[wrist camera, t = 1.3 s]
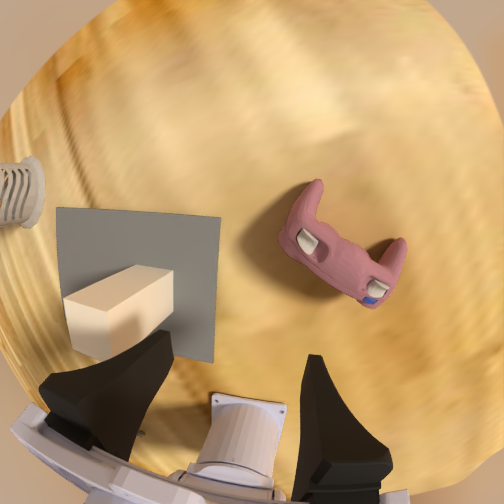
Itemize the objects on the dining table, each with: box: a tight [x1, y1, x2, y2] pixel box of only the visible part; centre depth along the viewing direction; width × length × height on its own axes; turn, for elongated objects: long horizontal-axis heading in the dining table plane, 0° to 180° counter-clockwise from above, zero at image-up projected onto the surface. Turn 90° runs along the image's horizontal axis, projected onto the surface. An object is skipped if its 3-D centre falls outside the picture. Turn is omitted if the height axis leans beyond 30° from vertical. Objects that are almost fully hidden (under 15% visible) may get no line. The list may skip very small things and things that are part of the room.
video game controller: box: [278, 179, 407, 309], centre depth 19 cm, size 10×5×7 cm, turn 59°
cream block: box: [63, 265, 173, 362], centre depth 20 cm, size 4×4×10 cm
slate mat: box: [56, 207, 221, 363], centre depth 25 cm, size 14×20×1 cm
